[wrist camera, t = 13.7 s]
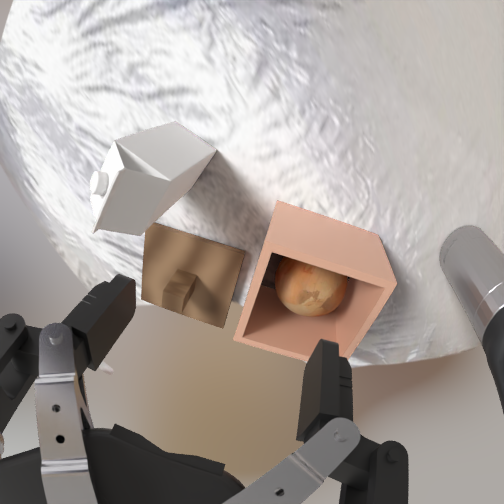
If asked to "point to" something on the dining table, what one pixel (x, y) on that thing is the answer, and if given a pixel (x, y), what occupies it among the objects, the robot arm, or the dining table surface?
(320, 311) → the onion
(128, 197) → the milk carton
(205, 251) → the lid
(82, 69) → the dining table surface
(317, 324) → the tan open box
